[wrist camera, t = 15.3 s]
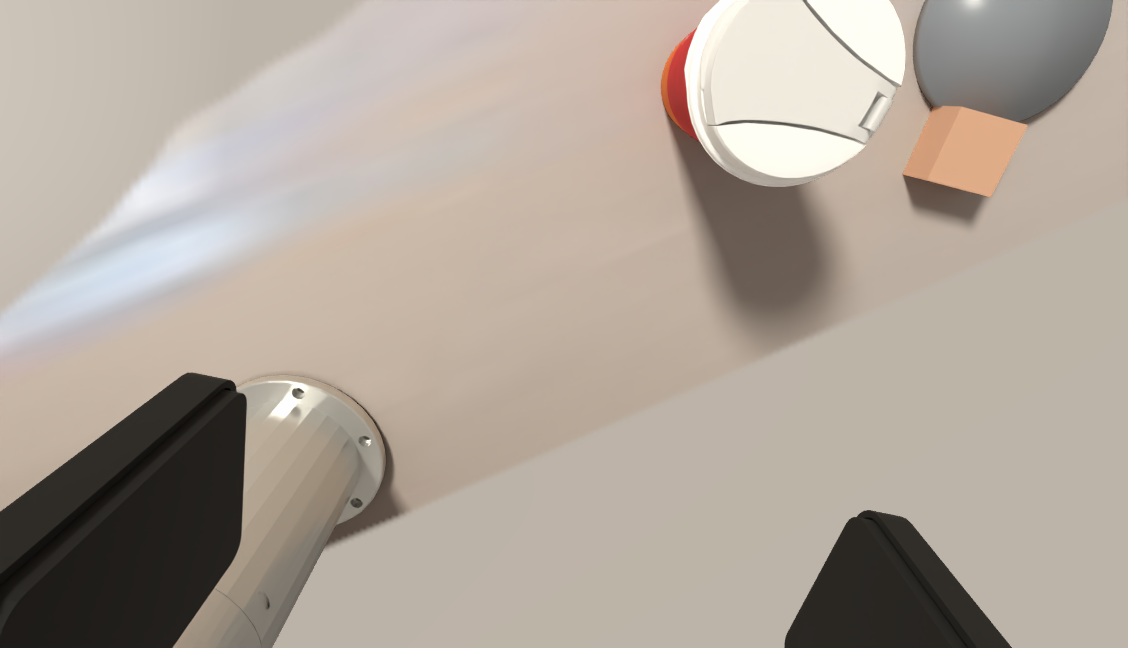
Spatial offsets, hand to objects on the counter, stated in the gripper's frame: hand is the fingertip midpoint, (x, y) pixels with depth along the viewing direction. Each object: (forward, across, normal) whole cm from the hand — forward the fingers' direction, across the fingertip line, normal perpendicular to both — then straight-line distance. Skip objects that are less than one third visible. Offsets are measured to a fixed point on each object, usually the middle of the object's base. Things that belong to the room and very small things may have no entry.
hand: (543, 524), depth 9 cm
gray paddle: (+28, -22, -13) cm, 38 cm away
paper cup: (+28, -7, -8) cm, 30 cm away
